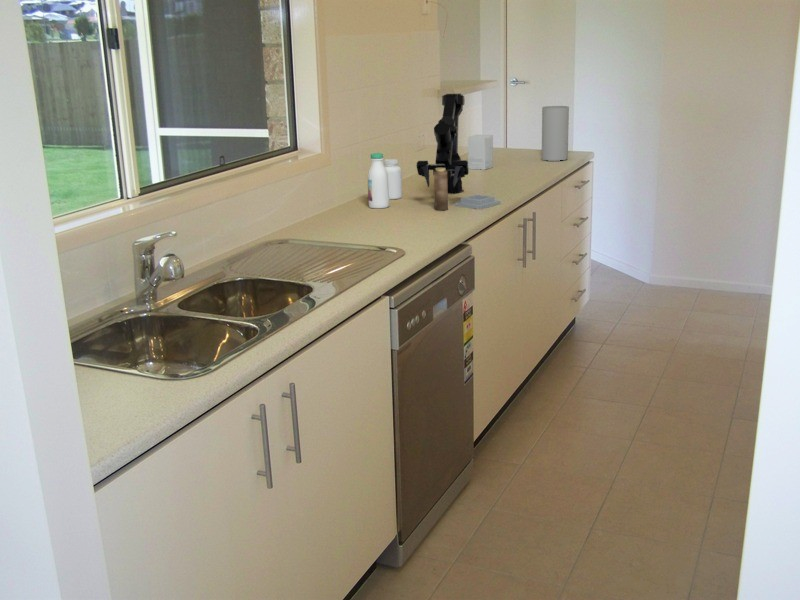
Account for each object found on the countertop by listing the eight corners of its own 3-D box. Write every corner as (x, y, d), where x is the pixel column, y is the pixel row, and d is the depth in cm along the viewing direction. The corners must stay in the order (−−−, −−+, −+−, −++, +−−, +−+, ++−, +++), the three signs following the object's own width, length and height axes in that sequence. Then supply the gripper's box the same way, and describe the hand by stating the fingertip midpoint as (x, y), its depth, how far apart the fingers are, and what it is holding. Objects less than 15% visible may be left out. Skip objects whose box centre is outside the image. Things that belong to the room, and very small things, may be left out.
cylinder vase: (538, 158, 427) (539, 106, 419) (563, 157, 428) (564, 105, 421) (545, 162, 415) (546, 108, 408) (570, 160, 416) (572, 107, 409)
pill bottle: (405, 196, 345) (404, 158, 341) (397, 200, 338) (395, 161, 334) (387, 195, 348) (386, 158, 344) (378, 199, 342) (377, 161, 337)
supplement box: (493, 167, 407) (493, 134, 402) (485, 170, 400) (484, 137, 395) (476, 166, 411) (476, 134, 407) (467, 169, 404) (467, 136, 400)
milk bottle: (392, 205, 329) (390, 152, 323) (385, 209, 322) (382, 155, 316) (373, 204, 332) (370, 152, 326) (365, 208, 325) (363, 155, 319)
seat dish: (455, 205, 324) (455, 198, 323) (474, 200, 332) (474, 193, 331) (480, 209, 316) (480, 201, 315) (500, 203, 325) (500, 196, 324)
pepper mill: (432, 210, 318) (431, 168, 314) (440, 207, 322) (439, 166, 317) (442, 211, 315) (441, 169, 310) (450, 209, 318) (449, 167, 314)
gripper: (470, 164, 328) (468, 199, 321) (422, 165, 331) (418, 199, 324) (468, 146, 318) (465, 181, 311) (418, 147, 322) (414, 181, 314)
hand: (440, 186), depth 315 cm, fingers open, 9 cm apart
